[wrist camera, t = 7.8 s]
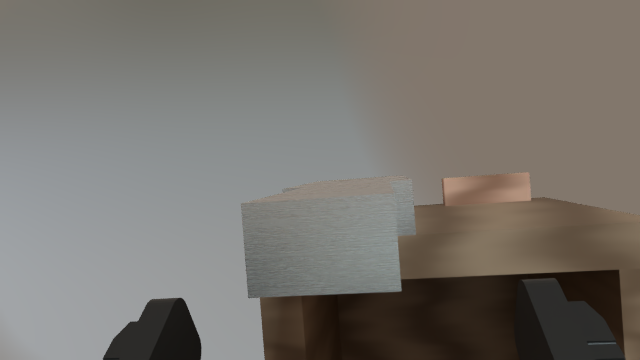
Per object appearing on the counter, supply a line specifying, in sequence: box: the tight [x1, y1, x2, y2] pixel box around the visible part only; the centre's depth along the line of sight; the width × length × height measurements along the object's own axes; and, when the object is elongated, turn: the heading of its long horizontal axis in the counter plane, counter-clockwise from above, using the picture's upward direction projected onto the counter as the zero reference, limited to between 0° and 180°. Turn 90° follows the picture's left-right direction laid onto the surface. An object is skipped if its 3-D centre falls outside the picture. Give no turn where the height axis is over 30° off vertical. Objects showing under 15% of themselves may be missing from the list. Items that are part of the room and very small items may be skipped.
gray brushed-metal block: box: [241, 176, 416, 298], centre depth 23 cm, size 6×22×2 cm, turn 173°
